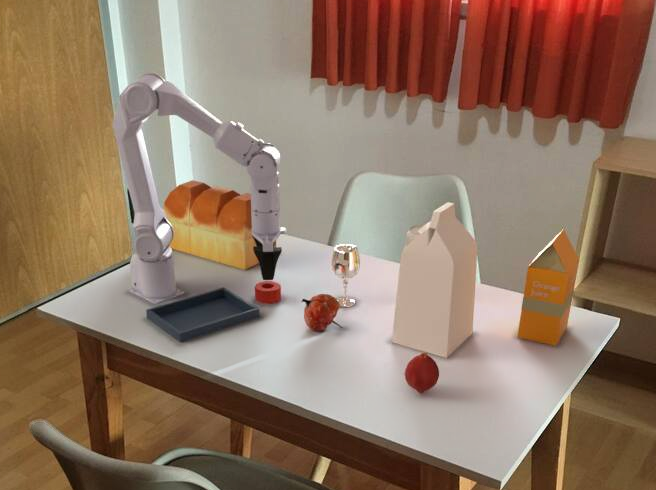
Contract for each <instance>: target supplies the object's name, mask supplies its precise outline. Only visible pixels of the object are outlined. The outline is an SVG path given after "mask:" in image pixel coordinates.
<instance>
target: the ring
mask: <svg viewBox="0 0 656 490" xmlns="http://www.w3.org/2000/svg"><path fill="white" fill-rule="evenodd" d="M281 293H282V287H281V284H280V283H279V282H278V281H277V282H276V281H274V280H262V281H258V282H257V283H255V285H254V300H255V301H256V302H257V303H260V304H263V305H264V304H266V305H271V304H277V303H278V302H281V300H282V294H281Z"/></svg>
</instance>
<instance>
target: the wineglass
mask: <svg viewBox="0 0 656 490" xmlns="http://www.w3.org/2000/svg"><path fill="white" fill-rule="evenodd" d="M360 259H361V258H360V252H359V248H358V247H357V246H356V245H353V244H339V245H336V246H335V247H334V250H333V254H332V258H331V268H332V272H333V274H334V275H335V276H336V277H338V278H340V279H343V281H342V285H343V297H339V298H336V299H337V301H338V302H339V304H340V308H341V307H342V308H350V307H353V306H355V304H356V300H354V299H353V298H350V297H347V287H348V284H349V281H348V280H349V279H352V278H354V277H355V276H357V275H358V273H359V271H360V267H361V260H360Z"/></svg>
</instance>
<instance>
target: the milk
mask: <svg viewBox="0 0 656 490" xmlns="http://www.w3.org/2000/svg"><path fill="white" fill-rule="evenodd" d="M455 206H456V205H455V203H454V202H448V201H447V202H445V203H444V204H442V205H441V206H439V207H438V208H436V209H435V210H433V212H432V215H431V219H430V221H428V222H427V223H425V224H423V225H424V226H423V227H422V228H420V229H419V230H418V232H419V233H420V235H419V236H418V237H417V238H415V239H414V240H413V241H411V242H410V243H409V244H408V245H407V246H406V245H405V246H404V248H403V249H402V251H401V255H400V261H399V272H398V279H397V280H398V281H397V290H396V297H395V298H396V299H395V309H394V317H393V326H392V335H391V343H393V344H397V345H400V346H403V347H407V348H410V349H414V350H418V351H421V352H426V353H427V354H432V355H435V356H438V357H441V358H446V359H447V358H448V357H449V356H450V355H451V354H452V353H453V352H455V351H456V350H457V348H459V347H460V346H461V345H462V344H463V343H464V342H466V340H467V339H468V338H469V337H470V336H472V335H473V331H474V315H475V314H474V313H475V297H476V282H477V281H476V279H477V265H478V264H477V262H478V244H477V242H476V239H475V238H474V236H473V235H471V233H470V232H469V231H468V230H467V228H466V227H465V226H464V225H463V224H462V223H461V221H460V220H459V219H458V218H457V217H456V208H455Z"/></svg>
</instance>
